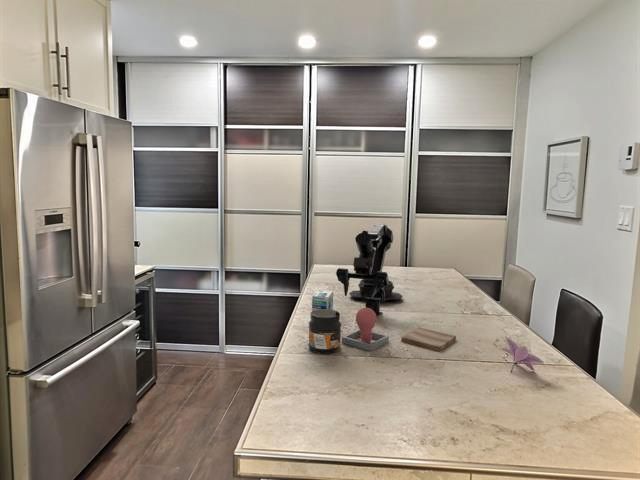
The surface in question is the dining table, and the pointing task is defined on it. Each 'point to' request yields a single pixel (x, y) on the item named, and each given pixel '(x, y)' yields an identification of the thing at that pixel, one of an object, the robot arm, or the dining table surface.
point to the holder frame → (350, 341)
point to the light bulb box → (322, 300)
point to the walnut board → (428, 339)
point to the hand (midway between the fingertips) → (357, 297)
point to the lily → (520, 354)
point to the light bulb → (366, 323)
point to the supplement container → (324, 331)
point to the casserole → (387, 290)
